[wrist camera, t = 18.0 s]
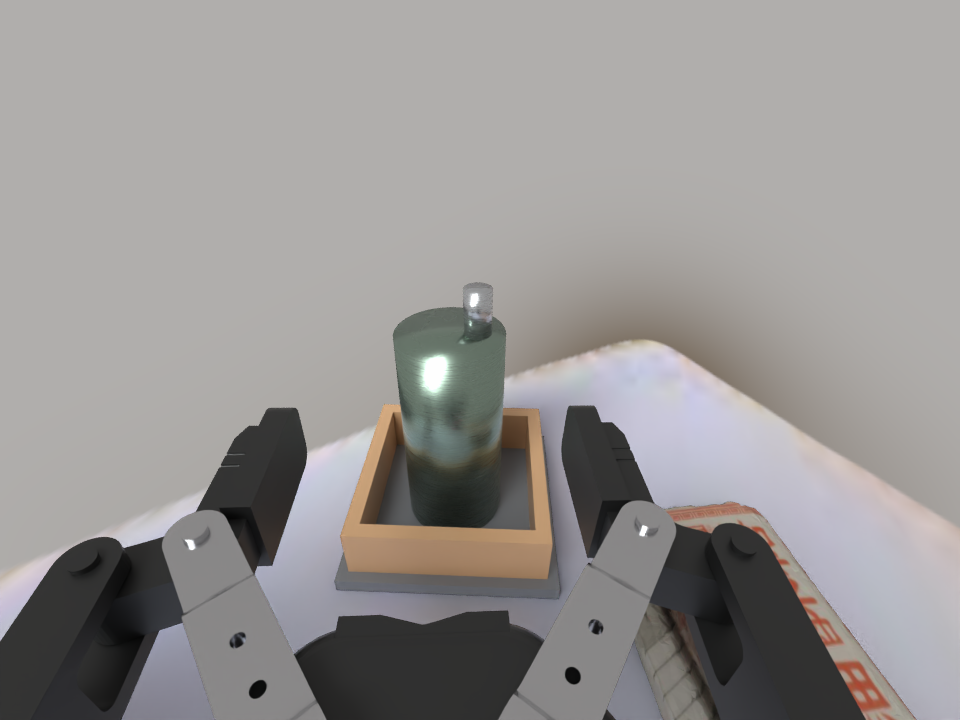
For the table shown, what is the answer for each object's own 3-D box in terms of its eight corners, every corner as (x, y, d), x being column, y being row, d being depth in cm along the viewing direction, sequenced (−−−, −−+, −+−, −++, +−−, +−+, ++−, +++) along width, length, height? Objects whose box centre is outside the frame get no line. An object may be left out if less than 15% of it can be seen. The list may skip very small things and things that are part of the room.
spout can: (403, 533, 28) (376, 314, 20) (417, 464, 33) (399, 264, 25) (499, 536, 28) (508, 316, 20) (499, 467, 33) (507, 266, 25)
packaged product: (607, 500, 26) (777, 482, 27) (595, 555, 28) (750, 537, 30) (888, 1121, 11) (1241, 1021, 12) (807, 1115, 14) (1103, 1035, 15)
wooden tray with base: (336, 589, 26) (324, 546, 24) (382, 438, 36) (377, 398, 34) (558, 598, 26) (565, 555, 24) (542, 443, 36) (546, 403, 34)
